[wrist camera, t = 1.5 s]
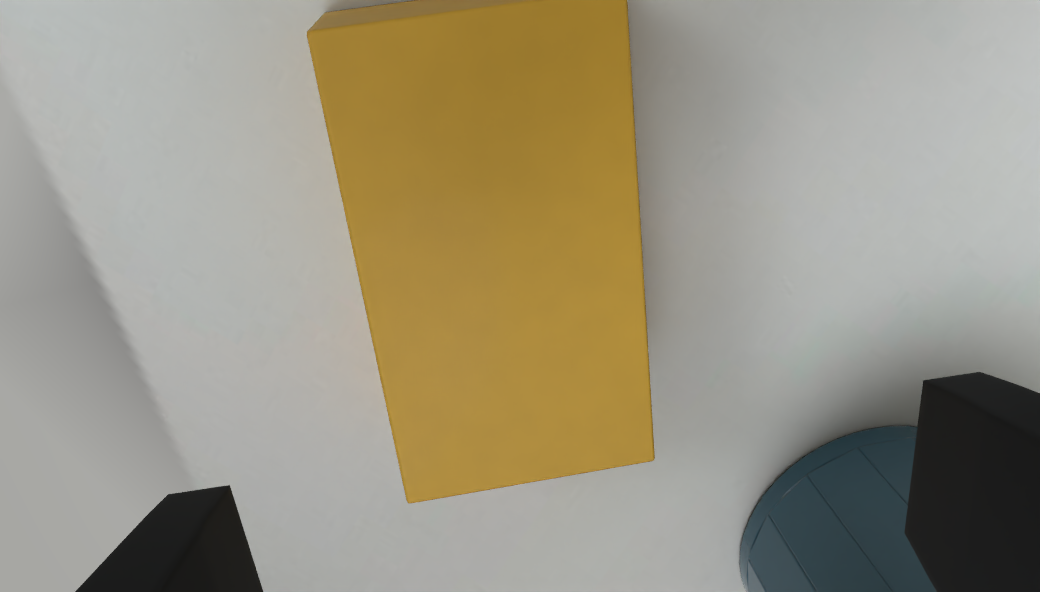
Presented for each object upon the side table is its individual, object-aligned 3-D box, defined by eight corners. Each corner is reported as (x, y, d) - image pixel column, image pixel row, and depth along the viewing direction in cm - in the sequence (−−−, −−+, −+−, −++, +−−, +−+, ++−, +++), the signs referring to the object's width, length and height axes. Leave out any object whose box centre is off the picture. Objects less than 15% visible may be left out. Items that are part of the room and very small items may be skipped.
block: (620, 387, 20) (655, 461, 17) (406, 422, 19) (407, 505, 16) (588, -24, 16) (627, -14, 13) (322, 12, 15) (305, 30, 13)
